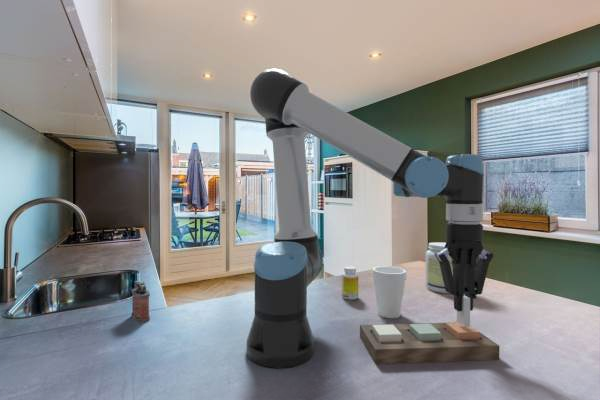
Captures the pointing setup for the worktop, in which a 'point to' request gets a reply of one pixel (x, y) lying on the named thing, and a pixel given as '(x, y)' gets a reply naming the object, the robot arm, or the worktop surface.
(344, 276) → the supplement bottle
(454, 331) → the terracotta tile
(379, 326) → the cream tile
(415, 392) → the worktop surface
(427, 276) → the supplement tub
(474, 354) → the walnut board
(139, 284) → the lighter
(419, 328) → the sage tile
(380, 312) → the foam cup
